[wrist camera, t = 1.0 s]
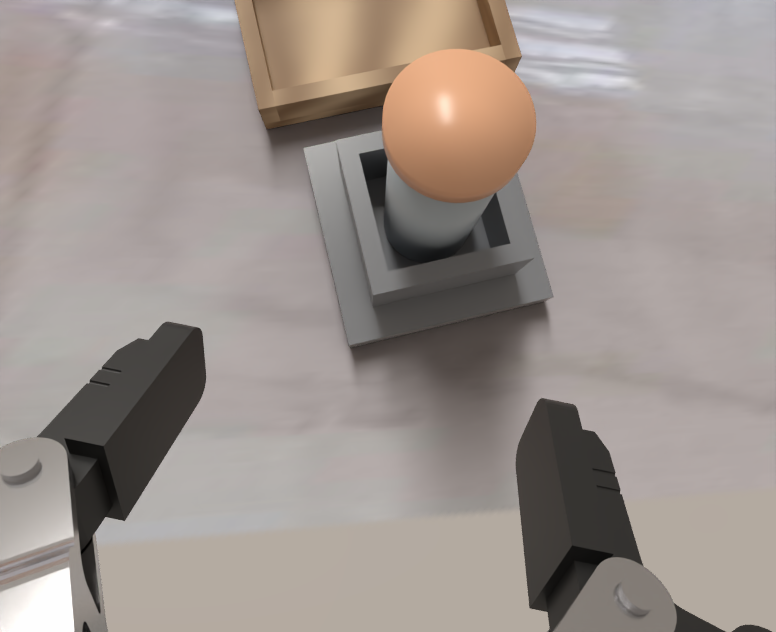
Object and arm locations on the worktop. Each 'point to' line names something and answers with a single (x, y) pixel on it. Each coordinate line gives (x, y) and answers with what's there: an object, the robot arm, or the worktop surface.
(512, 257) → the housing
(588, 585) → the robot arm
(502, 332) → the worktop surface
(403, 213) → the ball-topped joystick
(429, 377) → the worktop surface
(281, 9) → the tray
